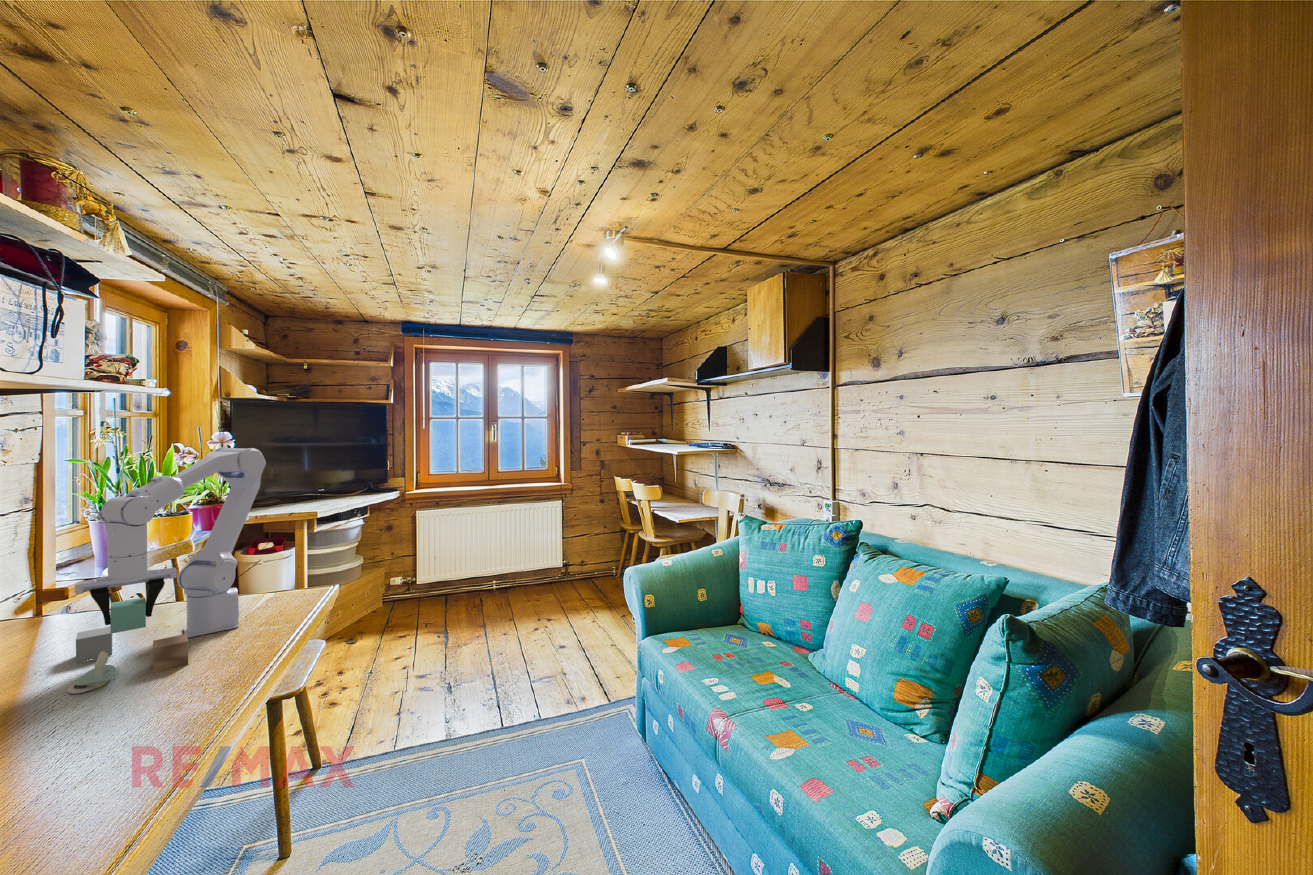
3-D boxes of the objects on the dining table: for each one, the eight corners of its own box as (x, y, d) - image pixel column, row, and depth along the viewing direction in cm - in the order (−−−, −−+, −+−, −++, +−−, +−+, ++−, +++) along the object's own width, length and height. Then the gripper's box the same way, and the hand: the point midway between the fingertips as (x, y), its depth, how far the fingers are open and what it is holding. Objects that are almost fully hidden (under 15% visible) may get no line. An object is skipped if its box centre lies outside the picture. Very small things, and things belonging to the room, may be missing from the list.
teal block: (145, 620, 109) (145, 597, 109) (145, 627, 106) (145, 603, 106) (111, 626, 106) (111, 602, 106) (110, 633, 102) (110, 608, 102)
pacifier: (62, 700, 91) (111, 688, 95) (60, 666, 91) (109, 655, 94) (72, 684, 97) (118, 673, 100) (70, 651, 96) (116, 642, 100)
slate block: (112, 648, 111) (112, 626, 111) (111, 656, 108) (111, 632, 107) (77, 655, 108) (77, 632, 107) (76, 663, 104) (75, 639, 104)
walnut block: (186, 657, 108) (186, 633, 108) (188, 665, 104) (188, 640, 104) (153, 664, 104) (153, 640, 104) (154, 673, 101) (153, 648, 101)
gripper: (172, 545, 114) (172, 605, 114) (73, 557, 102) (74, 624, 103) (178, 550, 109) (178, 613, 110) (75, 564, 98) (76, 634, 98)
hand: (128, 619), depth 106 cm, fingers closed on teal block, 5 cm apart
